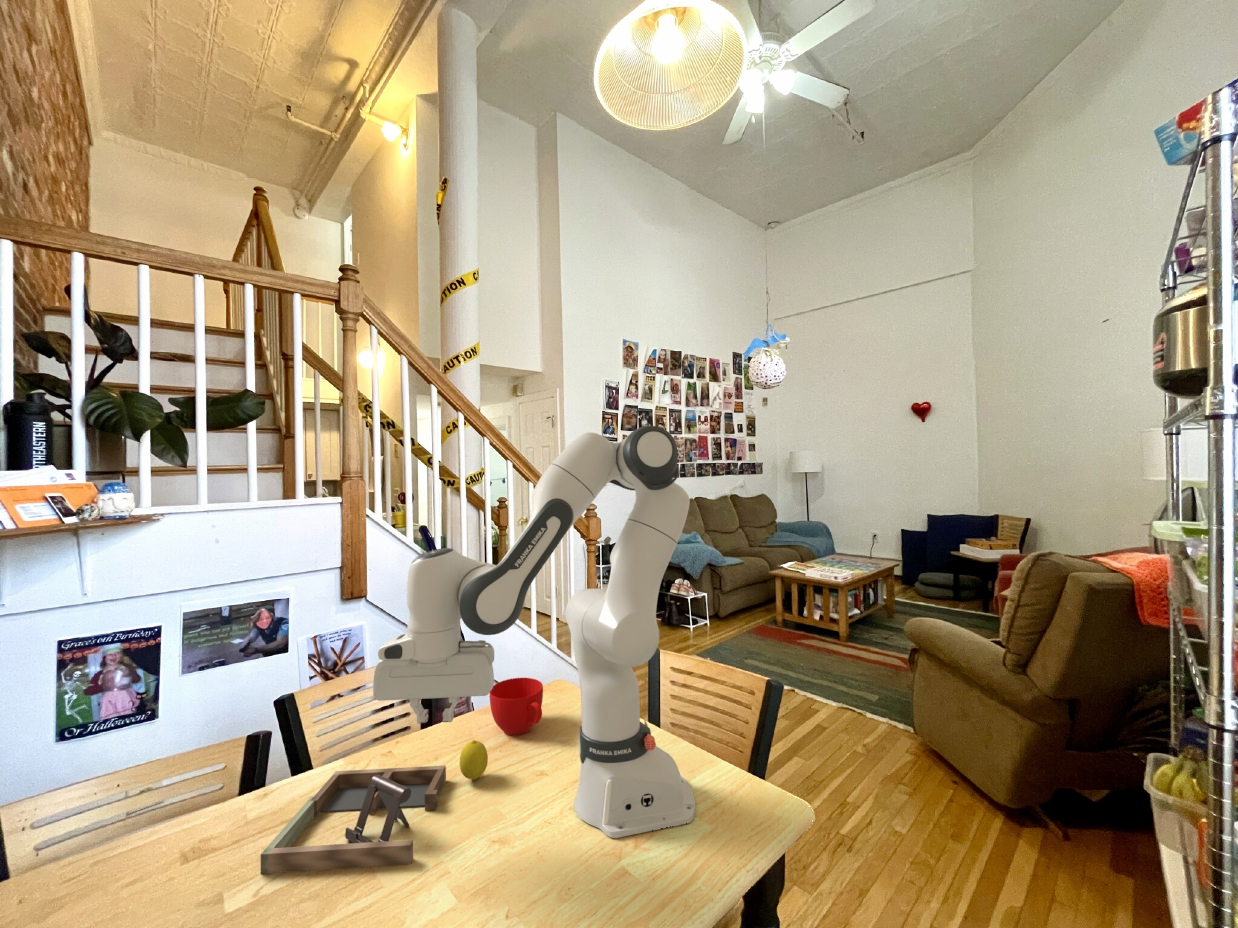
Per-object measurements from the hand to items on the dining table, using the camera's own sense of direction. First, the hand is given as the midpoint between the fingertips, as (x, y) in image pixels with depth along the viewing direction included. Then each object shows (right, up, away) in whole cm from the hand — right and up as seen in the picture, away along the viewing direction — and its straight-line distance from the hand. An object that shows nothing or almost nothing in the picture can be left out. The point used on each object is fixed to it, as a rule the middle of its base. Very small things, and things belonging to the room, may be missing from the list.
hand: (435, 721), depth 89 cm
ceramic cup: (+9, -20, +34) cm, 40 cm away
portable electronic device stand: (-9, -20, -1) cm, 22 cm away
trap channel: (-13, -20, +3) cm, 24 cm away
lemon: (+3, -20, +15) cm, 25 cm away
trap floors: (-14, -20, +9) cm, 26 cm away
